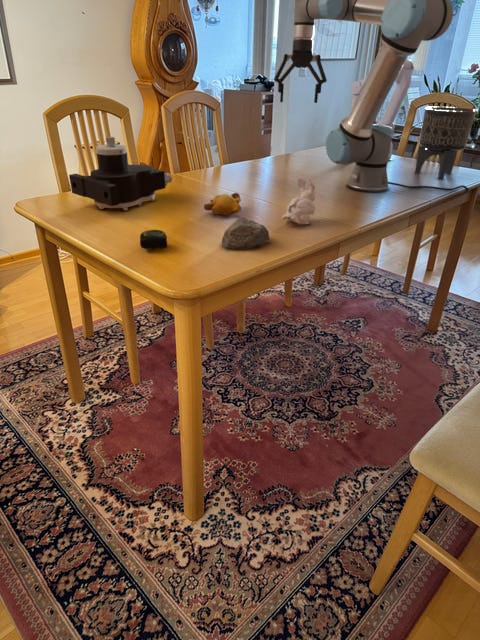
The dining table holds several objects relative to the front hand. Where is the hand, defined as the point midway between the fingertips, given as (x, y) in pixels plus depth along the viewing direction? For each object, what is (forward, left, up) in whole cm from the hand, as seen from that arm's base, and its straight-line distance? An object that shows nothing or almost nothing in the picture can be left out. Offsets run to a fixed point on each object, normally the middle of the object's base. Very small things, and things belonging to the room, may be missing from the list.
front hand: (298, 102), depth 179 cm
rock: (+14, +84, -28) cm, 90 cm away
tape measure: (+38, +90, -28) cm, 102 cm away
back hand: (-32, -57, -20) cm, 69 cm away
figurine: (0, +64, -28) cm, 70 cm away
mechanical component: (+56, +49, -28) cm, 80 cm away
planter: (-63, -11, -28) cm, 70 cm away
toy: (+23, +56, -28) cm, 67 cm away
